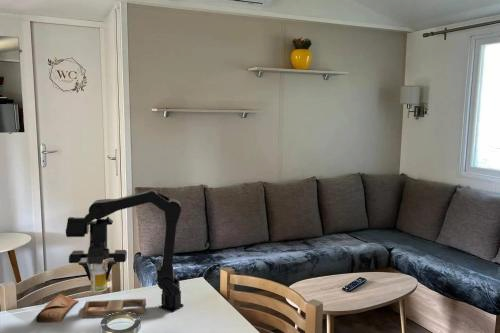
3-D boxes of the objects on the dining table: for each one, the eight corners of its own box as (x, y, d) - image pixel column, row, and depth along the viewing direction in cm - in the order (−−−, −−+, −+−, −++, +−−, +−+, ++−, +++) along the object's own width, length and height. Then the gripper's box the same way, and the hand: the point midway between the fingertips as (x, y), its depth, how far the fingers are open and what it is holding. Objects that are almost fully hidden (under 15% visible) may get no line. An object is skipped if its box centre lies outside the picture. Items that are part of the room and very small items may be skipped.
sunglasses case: (62, 322, 146) (51, 306, 146) (43, 332, 146) (32, 316, 146) (80, 300, 164) (70, 285, 163) (64, 309, 164) (54, 294, 164)
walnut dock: (145, 303, 163) (145, 298, 162) (144, 314, 154) (144, 308, 154) (86, 306, 159) (86, 301, 159) (81, 317, 150) (81, 312, 150)
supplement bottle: (110, 288, 156) (110, 261, 155) (100, 293, 151) (100, 266, 150) (97, 285, 158) (97, 259, 157) (87, 291, 153) (87, 264, 152)
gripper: (64, 243, 143) (64, 289, 145) (123, 242, 146) (123, 288, 148) (72, 234, 154) (72, 277, 156) (127, 234, 157) (127, 276, 159)
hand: (98, 280), depth 154 cm, fingers closed on supplement bottle, 5 cm apart
